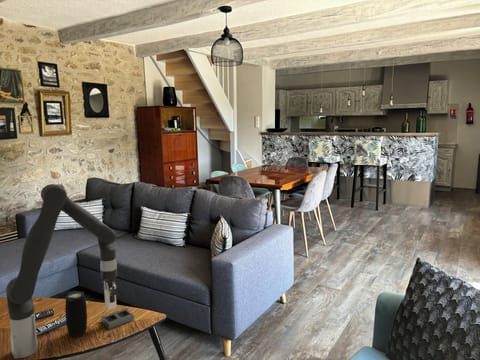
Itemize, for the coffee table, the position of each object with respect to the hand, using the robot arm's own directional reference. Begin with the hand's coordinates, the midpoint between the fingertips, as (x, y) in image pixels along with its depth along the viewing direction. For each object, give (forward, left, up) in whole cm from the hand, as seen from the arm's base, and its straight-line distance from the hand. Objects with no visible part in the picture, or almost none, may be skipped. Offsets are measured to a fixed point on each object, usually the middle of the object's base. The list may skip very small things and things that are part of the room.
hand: (110, 300), depth 181 cm
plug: (0, 0, -4) cm, 4 cm away
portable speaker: (-16, +2, -12) cm, 20 cm away
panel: (+3, 0, -12) cm, 12 cm away
